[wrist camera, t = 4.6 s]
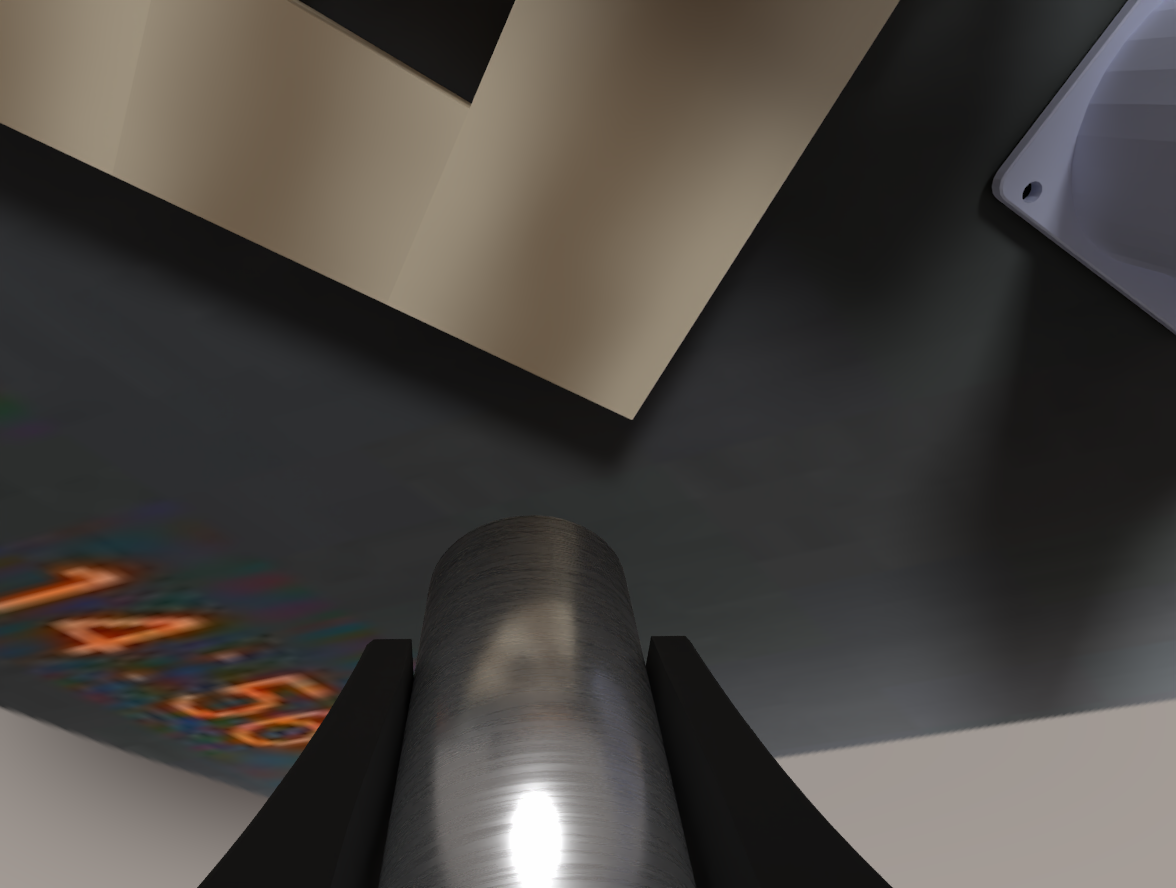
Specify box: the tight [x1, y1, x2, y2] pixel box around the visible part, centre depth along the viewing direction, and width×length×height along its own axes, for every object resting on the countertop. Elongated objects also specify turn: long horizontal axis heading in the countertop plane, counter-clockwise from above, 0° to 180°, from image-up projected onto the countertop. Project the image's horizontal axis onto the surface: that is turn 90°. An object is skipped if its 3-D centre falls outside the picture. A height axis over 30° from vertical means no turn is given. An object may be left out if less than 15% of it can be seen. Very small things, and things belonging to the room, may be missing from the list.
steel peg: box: [378, 515, 696, 888], centre depth 10 cm, size 4×4×7 cm
